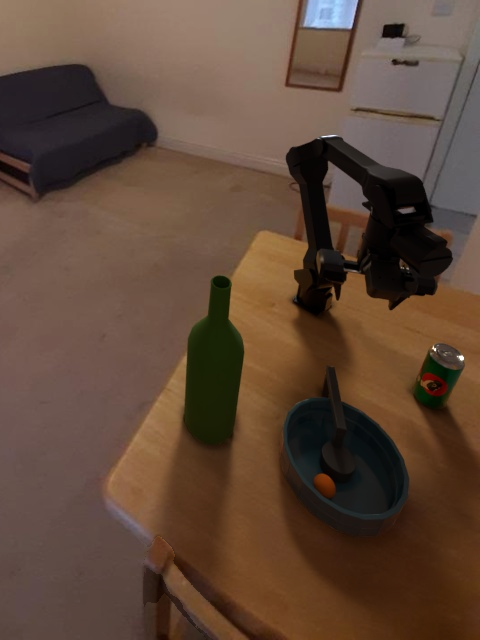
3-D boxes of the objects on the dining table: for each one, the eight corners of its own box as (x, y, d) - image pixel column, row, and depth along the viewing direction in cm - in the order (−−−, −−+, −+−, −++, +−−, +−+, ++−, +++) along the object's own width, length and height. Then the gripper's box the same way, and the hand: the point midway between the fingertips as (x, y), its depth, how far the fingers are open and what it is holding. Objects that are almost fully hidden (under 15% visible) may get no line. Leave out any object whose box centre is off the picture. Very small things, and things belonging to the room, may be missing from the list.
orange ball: (313, 478, 64) (307, 487, 61) (323, 465, 63) (317, 474, 61) (330, 497, 62) (325, 507, 60) (341, 484, 61) (336, 494, 59)
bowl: (257, 459, 67) (261, 440, 64) (314, 398, 76) (320, 378, 73) (364, 572, 54) (374, 552, 52) (418, 482, 63) (429, 462, 61)
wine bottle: (236, 403, 75) (254, 267, 61) (232, 453, 68) (251, 311, 54) (188, 389, 78) (195, 256, 64) (179, 436, 71) (185, 296, 56)
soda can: (450, 413, 72) (473, 368, 67) (418, 408, 73) (439, 363, 68) (436, 387, 77) (457, 343, 71) (406, 382, 78) (425, 339, 72)
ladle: (355, 487, 62) (365, 459, 59) (321, 477, 63) (329, 449, 61) (338, 395, 76) (345, 369, 73) (310, 389, 77) (316, 362, 74)
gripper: (331, 258, 68) (315, 325, 75) (463, 279, 63) (433, 348, 69) (323, 222, 77) (309, 284, 84) (437, 237, 72) (413, 302, 79)
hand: (363, 303), depth 79 cm, fingers open, 9 cm apart
